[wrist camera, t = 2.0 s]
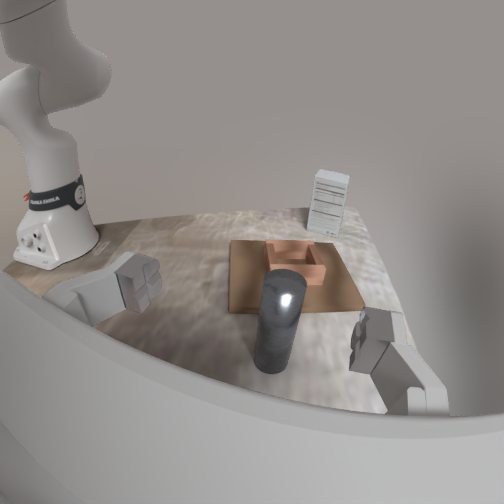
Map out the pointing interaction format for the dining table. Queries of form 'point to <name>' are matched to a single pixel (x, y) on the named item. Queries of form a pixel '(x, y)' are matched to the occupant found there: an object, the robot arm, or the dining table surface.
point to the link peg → (278, 318)
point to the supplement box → (328, 202)
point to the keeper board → (299, 260)
